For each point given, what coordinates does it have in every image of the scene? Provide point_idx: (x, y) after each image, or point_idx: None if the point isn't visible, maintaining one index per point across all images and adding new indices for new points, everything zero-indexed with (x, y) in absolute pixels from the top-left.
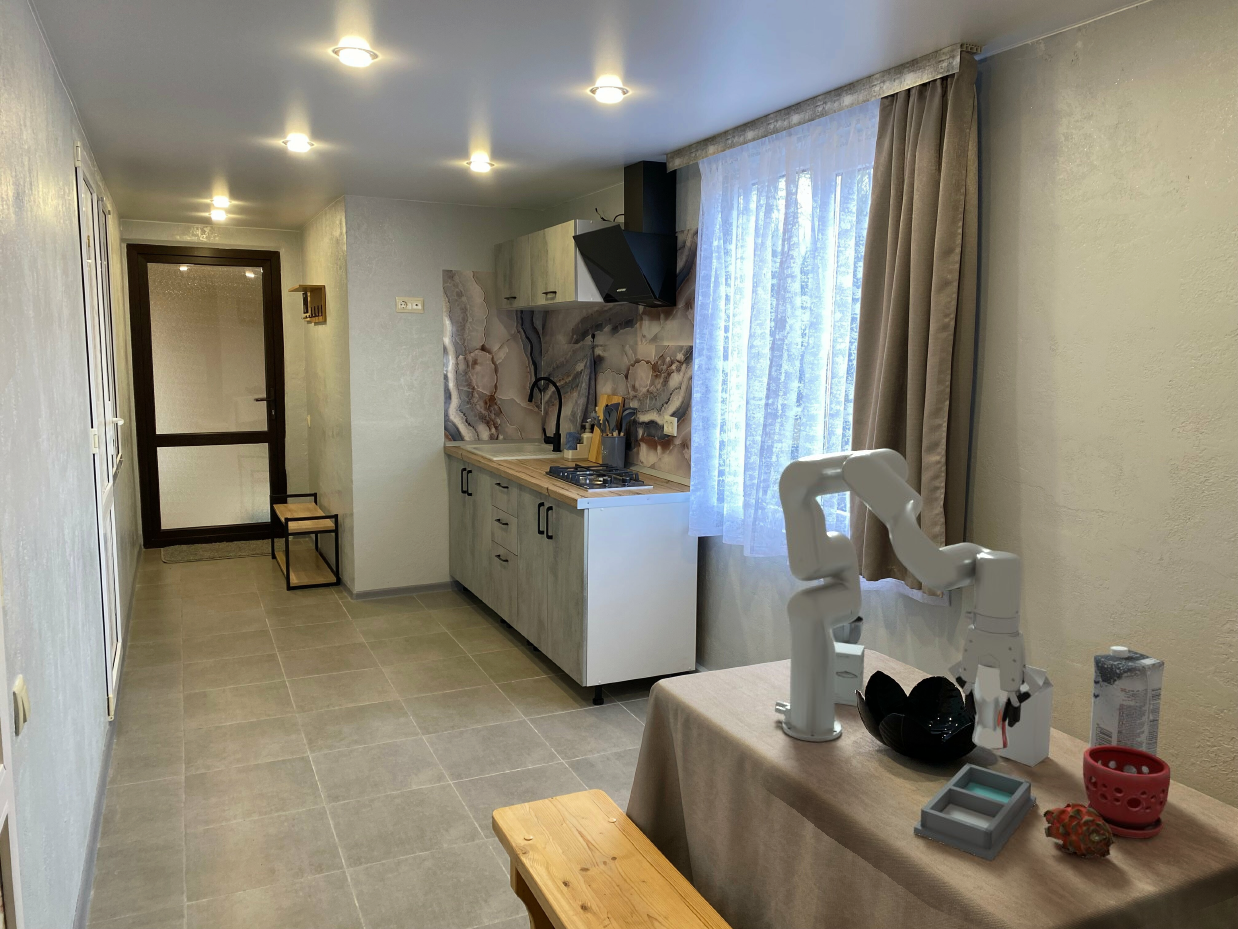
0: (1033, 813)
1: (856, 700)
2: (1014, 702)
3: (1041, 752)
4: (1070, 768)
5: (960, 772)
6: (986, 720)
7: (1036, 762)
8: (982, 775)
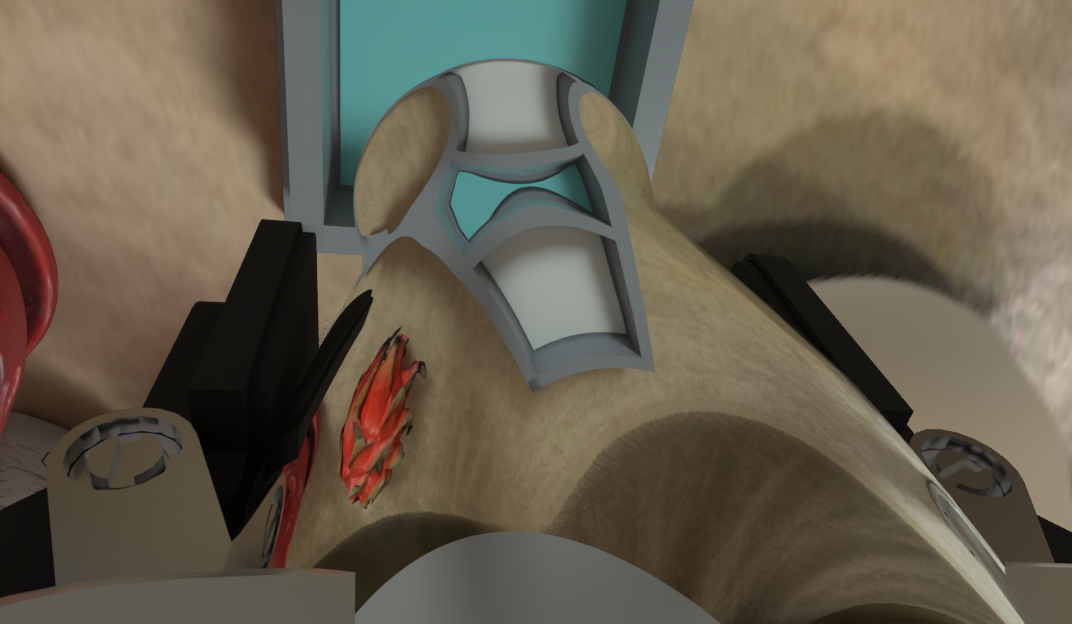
0: (265, 114)
1: None
2: (147, 462)
3: None
4: None
5: (647, 150)
6: (556, 174)
7: None
8: None
